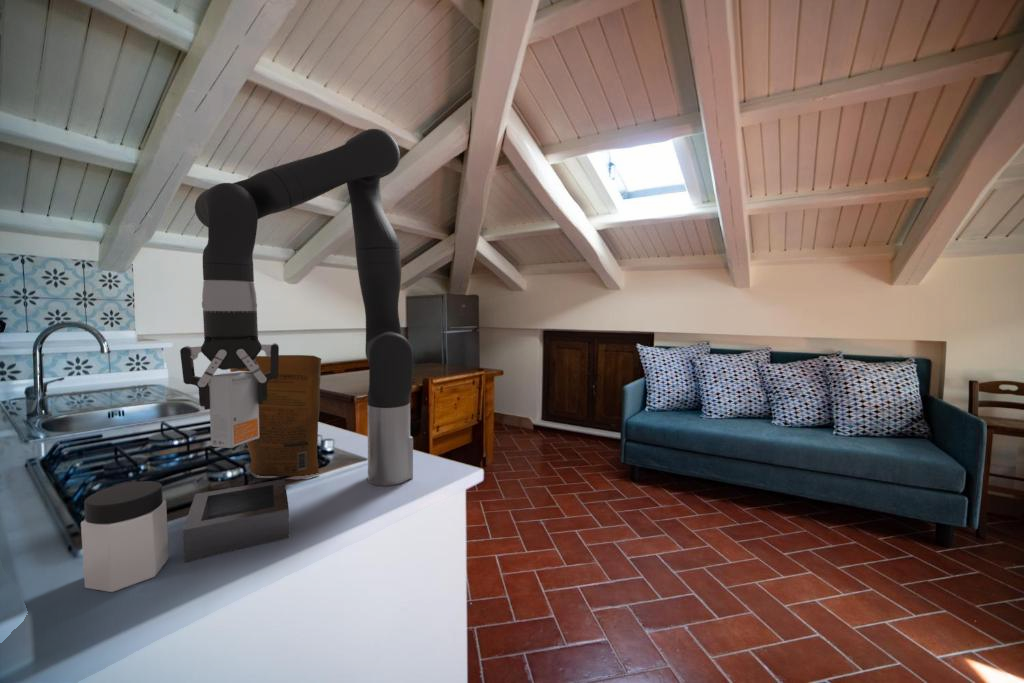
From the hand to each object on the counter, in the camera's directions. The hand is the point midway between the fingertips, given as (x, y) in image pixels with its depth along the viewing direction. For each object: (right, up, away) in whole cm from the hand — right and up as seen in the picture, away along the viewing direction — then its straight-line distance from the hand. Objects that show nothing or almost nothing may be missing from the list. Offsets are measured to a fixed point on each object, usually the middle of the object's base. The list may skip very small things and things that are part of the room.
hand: (234, 405), depth 72 cm
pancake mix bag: (-5, -20, +23) cm, 31 cm away
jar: (-8, -23, -11) cm, 26 cm away
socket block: (+1, -22, +1) cm, 22 cm away
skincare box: (0, -7, +1) cm, 7 cm away
